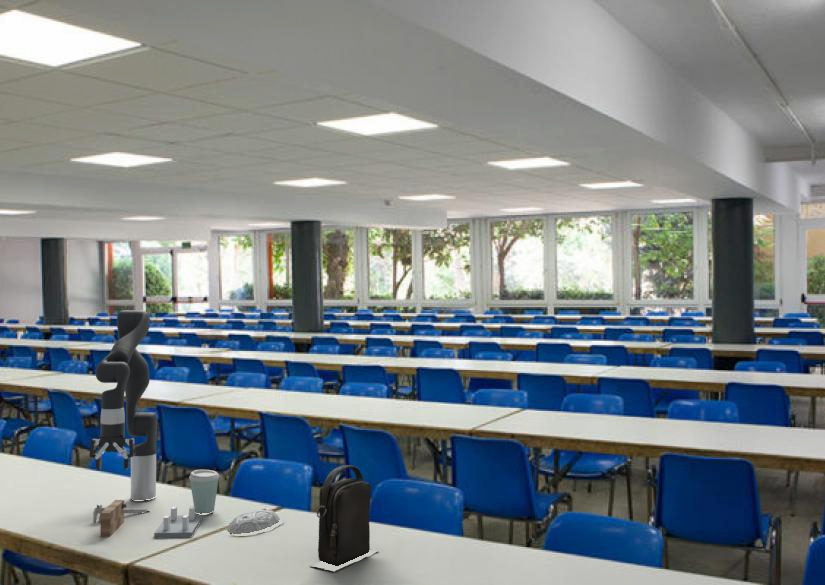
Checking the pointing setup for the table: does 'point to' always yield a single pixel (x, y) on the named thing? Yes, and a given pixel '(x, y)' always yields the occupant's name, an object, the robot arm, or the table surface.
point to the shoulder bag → (343, 518)
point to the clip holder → (178, 524)
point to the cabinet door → (112, 518)
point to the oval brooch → (253, 521)
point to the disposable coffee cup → (204, 490)
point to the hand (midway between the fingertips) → (112, 469)
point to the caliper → (100, 509)
